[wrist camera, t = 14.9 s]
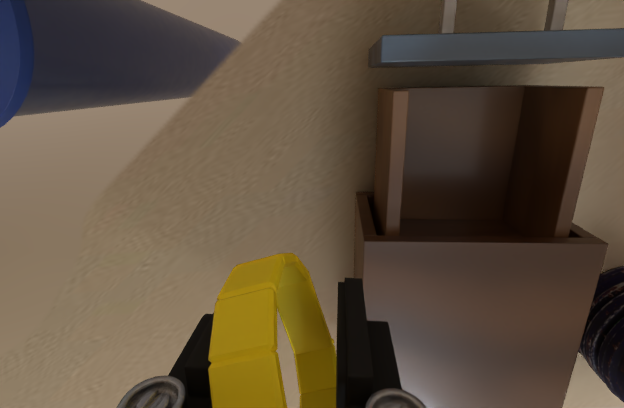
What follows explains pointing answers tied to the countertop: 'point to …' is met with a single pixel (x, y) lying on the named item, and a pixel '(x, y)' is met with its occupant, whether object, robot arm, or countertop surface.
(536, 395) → the cabinet
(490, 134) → the drawer
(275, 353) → the watch
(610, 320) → the storage jar
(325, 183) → the countertop surface
